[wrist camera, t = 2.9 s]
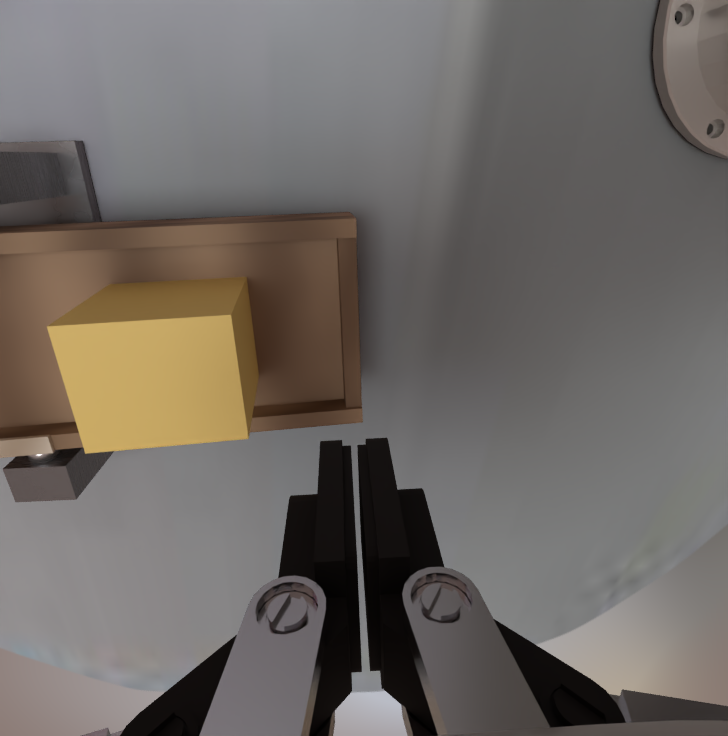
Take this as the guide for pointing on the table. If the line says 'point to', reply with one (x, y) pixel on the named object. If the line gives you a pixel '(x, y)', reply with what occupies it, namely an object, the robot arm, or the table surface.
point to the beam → (186, 262)
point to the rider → (159, 363)
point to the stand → (38, 207)
